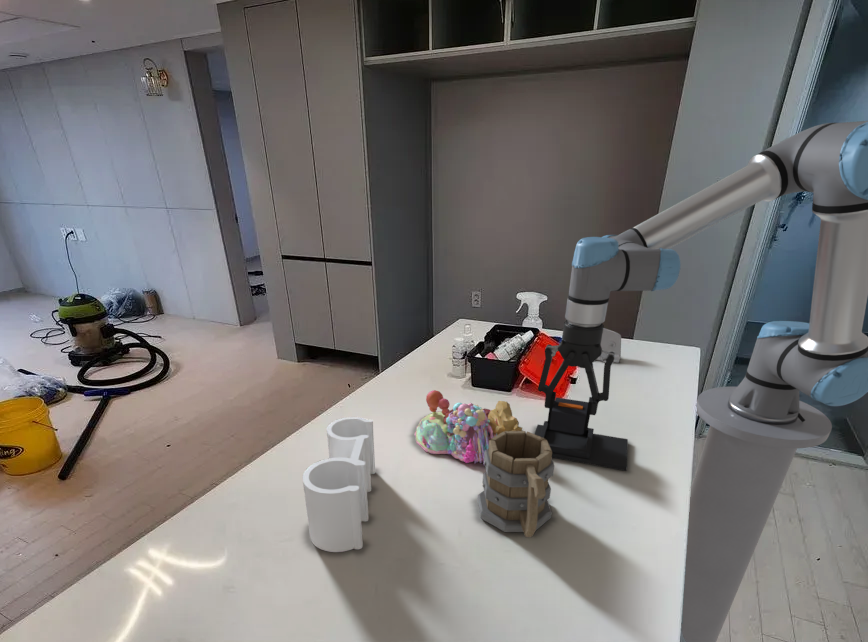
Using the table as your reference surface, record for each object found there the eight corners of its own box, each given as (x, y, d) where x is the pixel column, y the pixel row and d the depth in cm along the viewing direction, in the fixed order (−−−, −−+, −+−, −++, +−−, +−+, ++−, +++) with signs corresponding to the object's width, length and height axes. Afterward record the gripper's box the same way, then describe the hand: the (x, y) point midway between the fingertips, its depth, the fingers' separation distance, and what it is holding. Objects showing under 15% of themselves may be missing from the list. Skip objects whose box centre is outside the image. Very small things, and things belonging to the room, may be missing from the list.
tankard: (475, 489, 99) (479, 422, 92) (539, 489, 99) (549, 421, 92) (488, 563, 82) (495, 487, 74) (567, 562, 82) (581, 486, 74)
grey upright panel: (563, 356, 160) (569, 324, 159) (564, 356, 165) (569, 324, 163) (620, 362, 155) (625, 329, 154) (619, 362, 160) (625, 330, 158)
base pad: (626, 442, 114) (629, 433, 113) (626, 471, 105) (628, 460, 103) (537, 427, 121) (538, 418, 119) (528, 453, 111) (529, 443, 109)
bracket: (333, 467, 106) (328, 416, 100) (379, 468, 106) (377, 417, 100) (303, 551, 84) (294, 492, 79) (361, 553, 84) (357, 494, 78)
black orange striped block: (585, 420, 113) (588, 400, 110) (582, 435, 107) (586, 415, 105) (553, 415, 115) (556, 395, 112) (549, 429, 109) (551, 409, 107)
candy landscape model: (513, 412, 127) (516, 379, 123) (534, 464, 107) (539, 426, 102) (413, 414, 127) (413, 380, 122) (415, 467, 106) (415, 428, 102)
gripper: (638, 321, 100) (616, 423, 111) (536, 311, 106) (525, 409, 117) (638, 333, 94) (615, 440, 105) (530, 321, 100) (519, 423, 111)
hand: (567, 423), depth 111 cm, fingers closed on black orange striped block, 7 cm apart
